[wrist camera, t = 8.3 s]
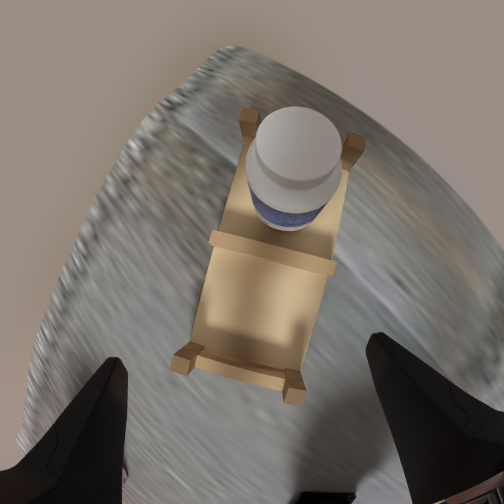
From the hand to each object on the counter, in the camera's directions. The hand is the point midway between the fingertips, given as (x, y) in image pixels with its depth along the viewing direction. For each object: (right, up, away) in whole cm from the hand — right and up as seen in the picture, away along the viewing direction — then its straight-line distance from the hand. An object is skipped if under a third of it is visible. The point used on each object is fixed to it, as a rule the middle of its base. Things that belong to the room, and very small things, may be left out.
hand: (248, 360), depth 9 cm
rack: (+2, +3, +13) cm, 14 cm away
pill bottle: (+3, +8, +13) cm, 15 cm away
